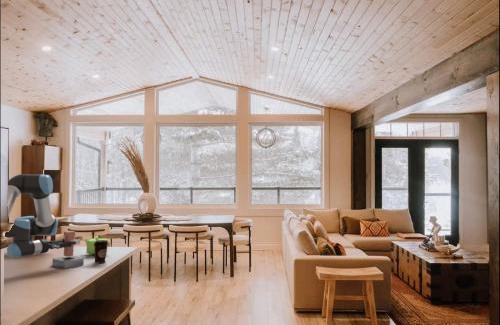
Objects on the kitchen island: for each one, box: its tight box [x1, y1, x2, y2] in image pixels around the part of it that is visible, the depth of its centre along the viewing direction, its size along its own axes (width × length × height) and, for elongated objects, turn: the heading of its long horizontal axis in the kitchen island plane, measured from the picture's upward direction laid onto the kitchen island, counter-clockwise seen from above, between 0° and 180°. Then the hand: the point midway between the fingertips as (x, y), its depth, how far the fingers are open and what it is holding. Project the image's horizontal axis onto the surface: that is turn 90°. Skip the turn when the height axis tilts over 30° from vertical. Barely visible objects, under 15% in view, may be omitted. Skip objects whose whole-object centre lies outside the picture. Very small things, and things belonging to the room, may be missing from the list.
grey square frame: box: [51, 255, 85, 270], centre depth 233 cm, size 12×12×4 cm
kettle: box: [83, 236, 110, 256], centre depth 265 cm, size 15×14×11 cm
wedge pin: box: [63, 230, 76, 257], centre depth 233 cm, size 4×5×14 cm
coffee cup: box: [93, 239, 109, 264], centre depth 244 cm, size 9×8×13 cm
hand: (77, 241), depth 238 cm, fingers closed on wedge pin, 4 cm apart
